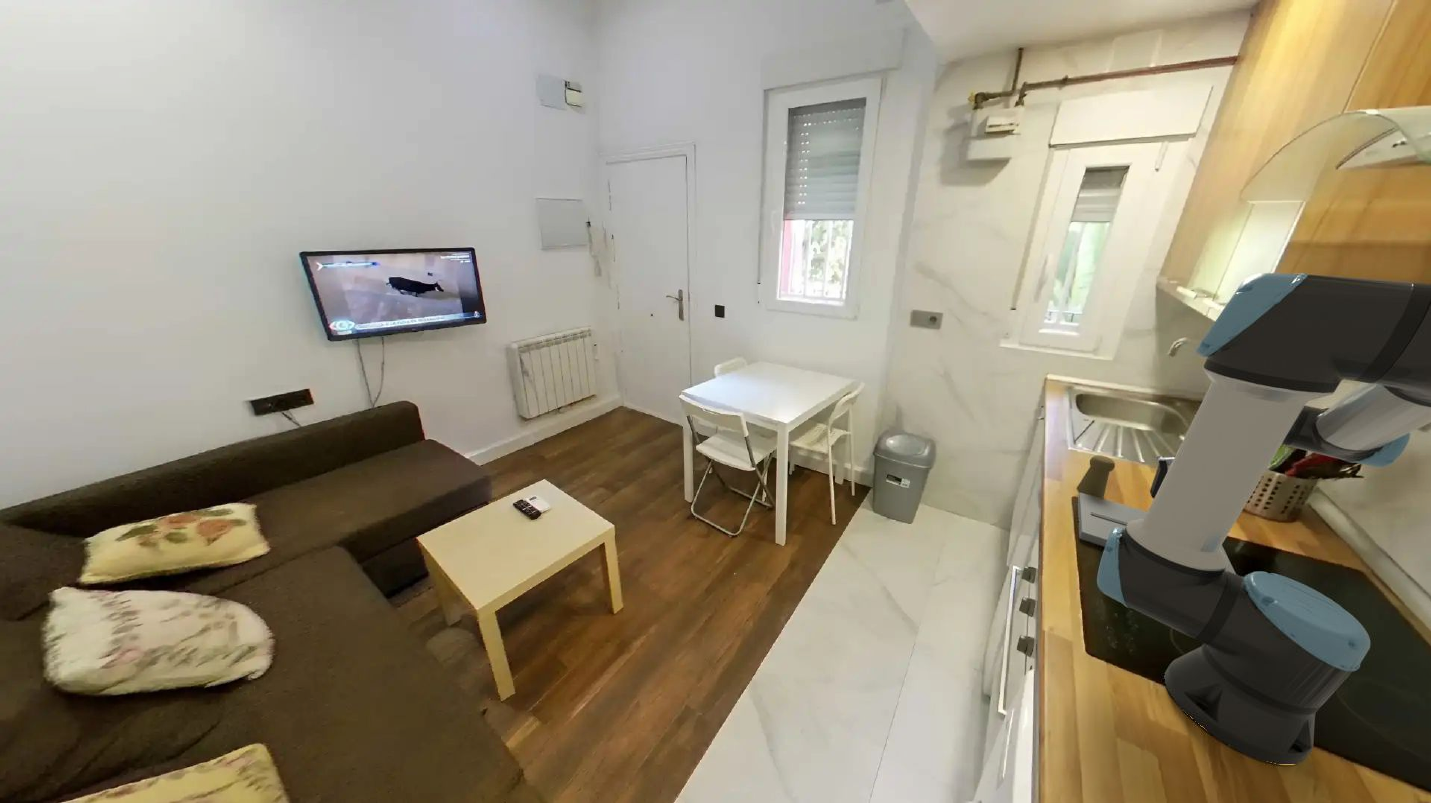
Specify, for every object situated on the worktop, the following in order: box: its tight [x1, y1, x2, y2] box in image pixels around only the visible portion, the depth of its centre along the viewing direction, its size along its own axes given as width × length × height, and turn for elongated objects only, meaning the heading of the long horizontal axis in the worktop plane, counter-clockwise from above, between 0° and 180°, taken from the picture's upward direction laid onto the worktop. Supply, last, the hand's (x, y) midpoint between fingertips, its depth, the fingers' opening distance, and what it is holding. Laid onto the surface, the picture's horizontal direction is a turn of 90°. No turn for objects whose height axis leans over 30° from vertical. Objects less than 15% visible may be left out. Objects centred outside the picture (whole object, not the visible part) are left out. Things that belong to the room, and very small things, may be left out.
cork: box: [1076, 455, 1116, 499], centre depth 121 cm, size 6×6×11 cm
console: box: [1077, 492, 1237, 575], centre depth 106 cm, size 20×26×2 cm
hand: (1166, 528), depth 103 cm, fingers closed on fader tab, 3 cm apart
